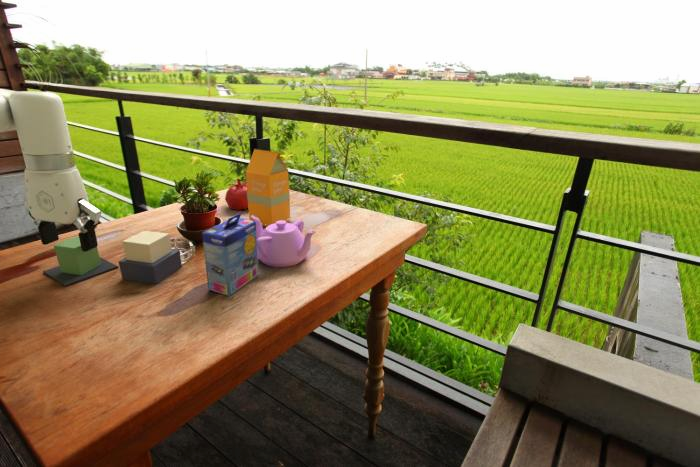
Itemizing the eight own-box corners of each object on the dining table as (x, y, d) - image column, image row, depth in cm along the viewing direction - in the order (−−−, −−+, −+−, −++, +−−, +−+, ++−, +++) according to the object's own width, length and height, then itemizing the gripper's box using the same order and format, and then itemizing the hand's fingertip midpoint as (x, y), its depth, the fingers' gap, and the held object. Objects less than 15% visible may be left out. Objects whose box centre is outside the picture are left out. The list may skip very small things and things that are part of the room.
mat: (43, 272, 80) (42, 271, 79) (95, 256, 87) (94, 254, 87) (65, 287, 74) (64, 285, 74) (118, 267, 82) (118, 266, 82)
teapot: (253, 249, 92) (251, 214, 89) (311, 245, 95) (311, 211, 92) (251, 272, 82) (248, 233, 78) (317, 267, 84) (316, 229, 81)
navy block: (122, 279, 78) (118, 261, 76) (150, 262, 85) (147, 245, 83) (156, 284, 76) (153, 266, 74) (182, 266, 83) (179, 249, 82)
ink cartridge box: (230, 297, 72) (222, 224, 67) (206, 291, 74) (197, 220, 68) (260, 274, 81) (256, 208, 75) (238, 269, 82) (232, 204, 77)
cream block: (126, 259, 77) (122, 241, 75) (147, 247, 82) (144, 230, 81) (152, 263, 76) (148, 244, 74) (172, 251, 81) (169, 233, 80)
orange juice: (272, 228, 105) (267, 154, 98) (248, 221, 110) (243, 150, 102) (290, 220, 112) (288, 150, 104) (268, 214, 116) (264, 146, 108)
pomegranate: (264, 204, 124) (263, 176, 121) (245, 213, 116) (242, 183, 112) (240, 200, 128) (237, 173, 125) (219, 209, 120) (215, 179, 116)
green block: (61, 272, 79) (53, 245, 77) (82, 261, 84) (75, 236, 81) (81, 275, 78) (73, 248, 76) (101, 264, 83) (95, 238, 80)
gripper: (-7, 160, 71) (17, 246, 77) (70, 170, 67) (90, 259, 73) (33, 154, 78) (53, 233, 84) (105, 162, 74) (120, 244, 80)
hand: (70, 245), depth 79 cm, fingers open, 9 cm apart
